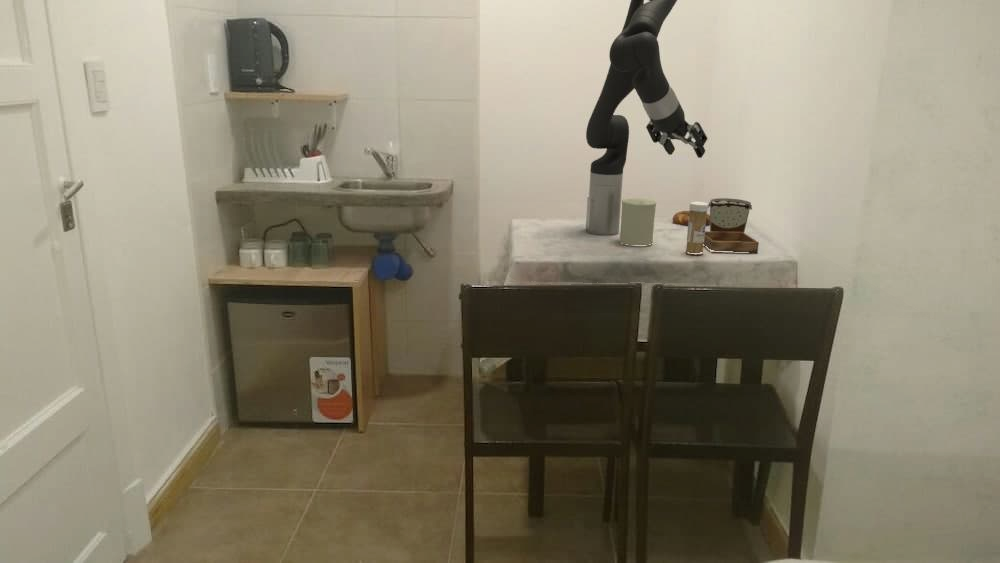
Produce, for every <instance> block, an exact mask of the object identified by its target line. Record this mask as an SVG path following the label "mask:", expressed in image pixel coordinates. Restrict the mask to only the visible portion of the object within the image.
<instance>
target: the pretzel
mask: <svg viewBox="0 0 1000 563" xmlns="http://www.w3.org/2000/svg"><path fill="white" fill-rule="evenodd" d="M689 215H690V210H683V211H678V212H676V213H675V214H674V215H673V216H672V222H673V223H674V224H675V225H677V226H679V225H680V226H686V227H688V223H689ZM707 225H708V226H710V213H709V214H708V213H707V215H706V225H705V227H707Z"/></svg>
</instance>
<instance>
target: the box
mask: <svg viewBox="0 0 1000 563" xmlns="http://www.w3.org/2000/svg"><path fill="white" fill-rule="evenodd" d="M704 245H705V246H707V247H708V248H709V249H711V250H714V251H733V252H749V253H748V254H753V253H757V254H758V252H759V245H760V243H759V241H757V240H756V239H754V238H753V237H751V236H749V235H748V234H746V233H745V232H744V233H743V232H712V231H710V230H709V231H706V230H705V237H704Z"/></svg>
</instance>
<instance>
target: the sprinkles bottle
mask: <svg viewBox="0 0 1000 563" xmlns="http://www.w3.org/2000/svg"><path fill="white" fill-rule="evenodd" d="M708 205H709V203H707V202H705V201H704V202H703V201H691V202H690V203H689V211H690V215H689V223H688V226H687V234H686V248H685V253H686V252H689V253H700V252H703V253H704V246H703V244H704V237H705V231H706V226H705V225H706V215H707V214H708V210H709V208H708Z"/></svg>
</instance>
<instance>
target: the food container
mask: <svg viewBox="0 0 1000 563" xmlns="http://www.w3.org/2000/svg"><path fill="white" fill-rule="evenodd" d="M708 209H709V215H710V225H709V231H712V232H743V233H745V231H746V227H747V222H748V219H749V214H750V210H751V211H752V210H753V207H752V202H751V201H748V200H745V199H740V198H728V197H727V198H725V197H723V198H722V197H721V198H719V197H718V198H712V199H710V201H709V202H708Z"/></svg>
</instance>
